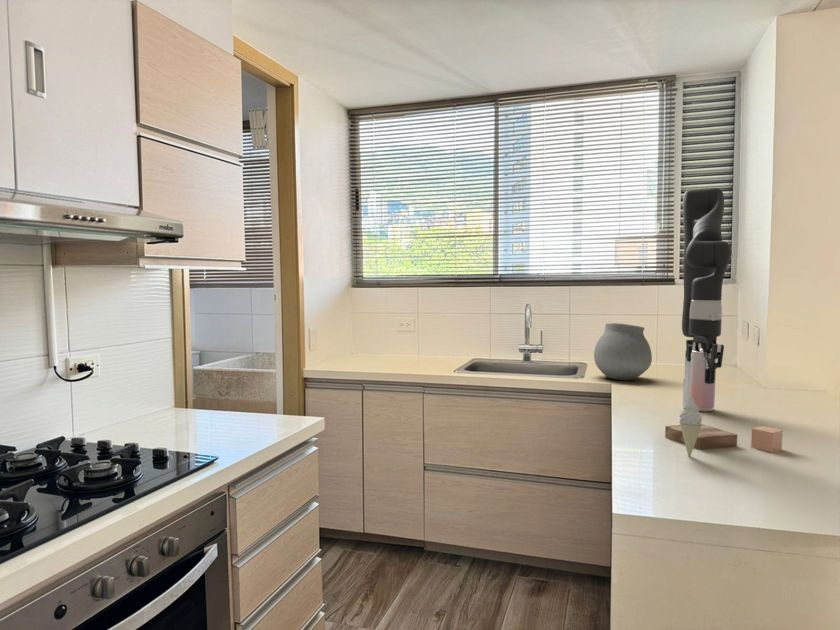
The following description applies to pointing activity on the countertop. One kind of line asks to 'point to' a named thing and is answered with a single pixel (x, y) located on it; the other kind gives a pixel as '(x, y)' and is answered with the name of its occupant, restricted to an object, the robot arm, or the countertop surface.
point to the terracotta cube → (766, 439)
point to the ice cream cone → (690, 424)
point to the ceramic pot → (622, 352)
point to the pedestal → (704, 437)
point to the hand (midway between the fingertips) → (702, 380)
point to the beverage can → (701, 383)
